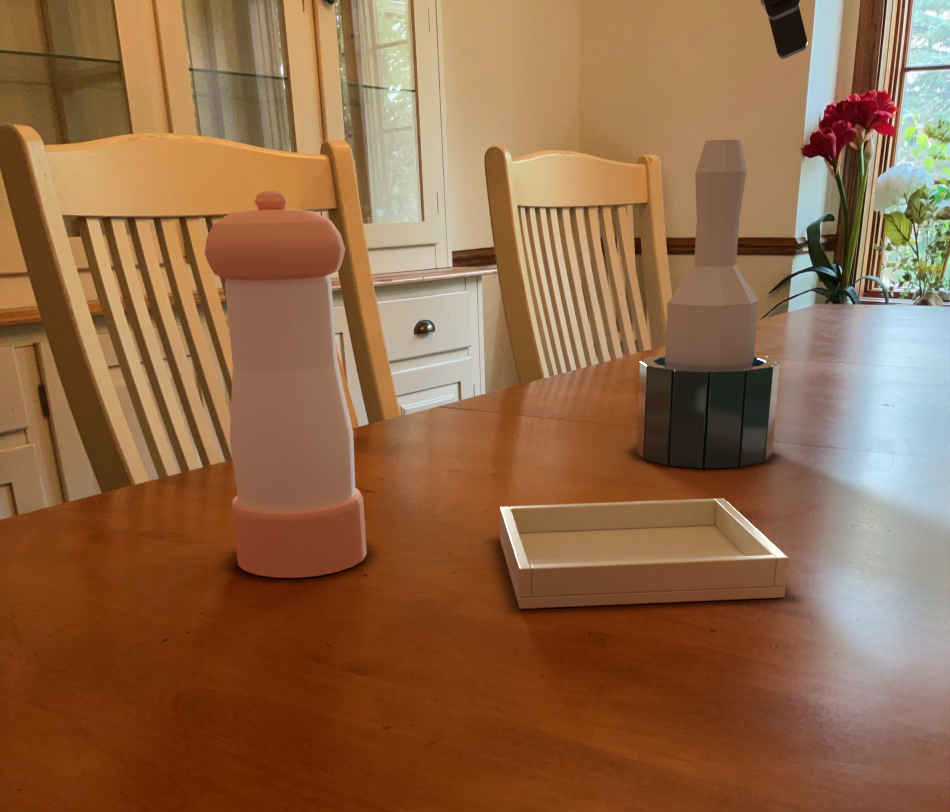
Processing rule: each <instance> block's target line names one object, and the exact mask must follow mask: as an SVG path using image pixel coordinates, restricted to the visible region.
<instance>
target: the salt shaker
mask: <svg viewBox="0 0 950 812" xmlns="http://www.w3.org/2000/svg"><path fill="white" fill-rule="evenodd" d="M254 204H255V206H256V208H257V209H253V210H244V211H235V212H231V213H229V214H226V215H225V216H224V217H221V219H218V220H217V221H215V222H213V224H212V226H211V229H210V231H209V233H208V235H207V237H206V241H205V248H204V256H205V258H206V261H207V264H208V265H209V268H210V269H211V270H212V273H213V274H214V275H215V276H217V277H221V278H223V279H225V282H224V290H225V291H224V292H225V301H226V308H227V309H226V311H227V321H228V331H229V341H230V350H231V361H232V373H231V374H232V375H231V377H232V379H231V398H230V399H231V400H230V419H229V420H230V421H229V422H230V423H229V444H230V451H231V459H232V466H233V473H234V479H235V487H236V494H237V495H236V496H235V497H233V498H232V501H231V503H230V504H231V515H232V523H233V533H234V540H235V550H236V551H235V552H236V559H237V566H238V567H239V568H241V569H242V570H243V571H244V572H246V573H250V574H252V575H256V576H261V577H268V578H277V579H280V578H281V579H282V578H283V579H284V578H285V579H287V578H288V579H298V578H309V577H319V576H324V575H329V574H334V573H338V572H341V571H344V570H347V569H350V568H353V567H355V566H357V565H358V564H360V563H361V562H363V561H364V559H365V558H366V556H367V551H368V550H367V539H366V538H367V537H366V536H367V535H366V521H365V520H366V519H365V506H364V497H363V495H362V493H361V491H360V490H359V489H358V488H357V487H356V472H355V471H356V470H355V469H356V467H355V445H354V444H355V443H354V442H355V441H354V430H353V425H352V421H351V417H350V411H349V407H348V402H347V399H346V394H345V388H344V385H343V380H342V376H341V370H340V368H339V367H340V365H339V363H338V349H337V348H338V347H337V337H336V325H335V324H336V322H335V313H334V299H333V286H332V285H333V284H332V280H331V278H330V275H332V274H334V273H336V272H338V271H340V269H341V267H342V264H343V261H344V257H345V253H346V246H345V244H344V240H343V237H342V234H341V233H340V231H339V230H338V228H337V226H336V225H335V223H333V221H332V220H331V219H329V218H327V217H325V216H323V215H321V214H319V213H317V212H315V211H313V210H305V209H291V208H287V205H288V199H287V197H286V195H285V194H284V193H282V192H280V191H278V190H267V191H264V190H263V191H261V192H259V193H258V194H256V196H255V199H254Z"/></svg>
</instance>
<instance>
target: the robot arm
mask: <svg viewBox="0 0 950 812" xmlns="http://www.w3.org/2000/svg"><path fill="white" fill-rule="evenodd" d="M760 5H761V7H762V8H763V7H764V10H765V12H766V16H767V18H768V21H769V25H770V29H771V33H772V38H773V41H774V46H775V50H776V53H777V56H778V57H779V58H780V59H781V60H785V59H788V58H789V57H793V56H794V55H796V54H800V53H801V52H803V51H805V50H806V49H807V47H808V43H809V42H808V37H807V33H806V30H805V25H804V21H803V18H802V12H801V9H800V7H801V0H760Z"/></svg>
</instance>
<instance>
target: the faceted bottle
mask: <svg viewBox="0 0 950 812" xmlns="http://www.w3.org/2000/svg"><path fill="white" fill-rule="evenodd" d="M701 150H702V151H701V153H700V156H699V160H698V163H697V166H696V169H695V173H694V179H695V205H696V206H695V207H696V209H695V210H696V225H695V245H694V263H693V267H692V268H691V269H690V271H689V272H688V273H687V275H686V277H685V278H684V279H683V280H682V282H681V283H680V285H679V286H678V287H677V289H675V291H674V293H673V295H672V296H671V297H670V298H669V300H668V302H667V305H666V324H665V325H666V326H665V347H664V350H665V351H664V355H665V366H668V367H675V368H683V369H705V370H715V369H740V368H747V367H752V365H753V360H754V355H755V347H756V335H757V321H758V309H759V299H758V298H757V296H756V295H755V293H754V291H753V290H752V287H750V285H749V283H748V281H747V280H746V278H745V277H744V275H743V273H742V272H741V270H740V269H739V267H738V266H737V260H738V259H737V258H738V257H737V256H738V244H739V243H738V242H739V230H740V217H741V211H742V205H743V199H744V191H745V186H746V180H747V179H746V178H747V175H748V170H747V166H746V161H745V156H744V155H745V154H744V151H743V146H742V140H740V139H714V140H712V139H711V140H705V141H704V145H703V148H702V149H701Z"/></svg>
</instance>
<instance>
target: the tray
mask: <svg viewBox="0 0 950 812" xmlns="http://www.w3.org/2000/svg"><path fill="white" fill-rule="evenodd" d="M499 541H500V545H501V549H502V552H503V554H504V555H503V556H504V559H505V563H506V567H507V570H508V574H509V576H510V579H511V584H512V587H513V591H514V594H515V598H516V601H517V604H518V608H519V609H520V610H527V609H528V610H529V609H553V608H572V607H573V608H575V607H597V606H617V605H620V606H621V605H645V604H665V603H687V602H688V603H689V602H691V603H692V602H708V601H709V602H711V601H712V602H713V601H735V600H757V599H779V598H785V594H786V585H787V584H786V583H787V575H788V573H787V572H788V563H789V557H788V556H787V555H786V554H785V553H784V552H782V550H780V549H779V547H777V546H776V545H775V544H774V543H773V542H772V541H770V540H769V539H768V538H767V537H766V536H765V535H764V534H763V533H762V532H761V531H759V529H758V528H756V527H755V526H754V524H752V523H751V522H750V521H749V520H748V519H747V518H746V517H745V516H744V515H743V514H741V513H740V512H739V511H738V510H737V509H736V508H735V507H734V506H732V504H730V502H728V501H727V500H726V499H725V498H724V497H718V498H717V497H715V498H690V499H663V500H662V499H661V500H641V501H639V500H638V501H635V500H634V501H613V502H589V503H588V502H586V503H559V504H537V505H536V504H535V505H533V504H532V505H511V506H509V505H508V506H507V505H506V506H500V507H499Z"/></svg>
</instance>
